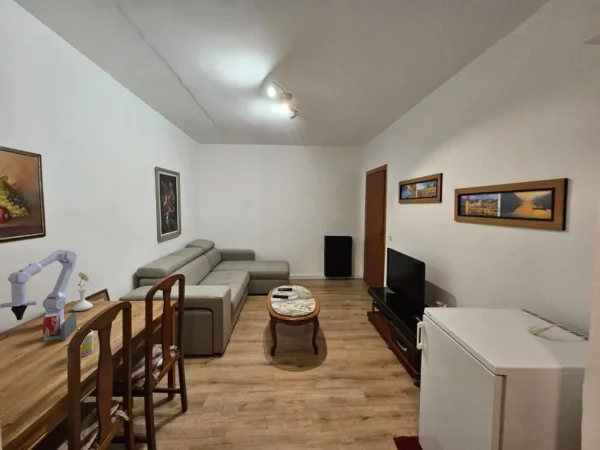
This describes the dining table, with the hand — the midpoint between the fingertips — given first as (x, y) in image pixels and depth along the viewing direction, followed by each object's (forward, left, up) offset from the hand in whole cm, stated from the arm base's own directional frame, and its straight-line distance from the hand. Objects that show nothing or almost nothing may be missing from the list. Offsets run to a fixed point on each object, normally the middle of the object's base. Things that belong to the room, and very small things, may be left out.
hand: (19, 319), depth 150 cm
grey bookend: (+4, +18, -9) cm, 21 cm away
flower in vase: (-39, +17, -10) cm, 44 cm away
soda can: (+5, +15, -10) cm, 18 cm away
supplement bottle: (+31, +36, -10) cm, 48 cm away
